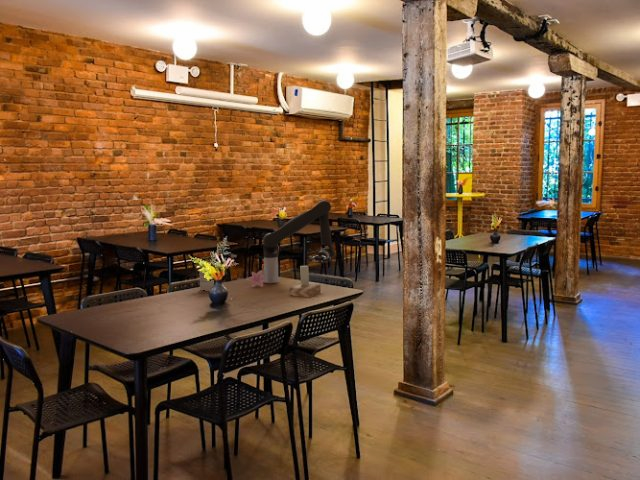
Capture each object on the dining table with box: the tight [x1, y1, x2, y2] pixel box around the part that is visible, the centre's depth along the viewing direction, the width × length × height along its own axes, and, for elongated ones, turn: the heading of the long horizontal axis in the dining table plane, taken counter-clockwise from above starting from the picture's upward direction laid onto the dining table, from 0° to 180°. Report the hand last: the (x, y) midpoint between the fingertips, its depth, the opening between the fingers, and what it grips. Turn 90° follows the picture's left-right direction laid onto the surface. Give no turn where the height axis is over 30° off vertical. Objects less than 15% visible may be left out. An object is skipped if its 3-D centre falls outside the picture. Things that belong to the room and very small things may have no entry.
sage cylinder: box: [299, 265, 310, 287], centre depth 358 cm, size 5×5×12 cm
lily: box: [246, 269, 267, 288], centre depth 387 cm, size 12×12×10 cm
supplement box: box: [199, 262, 214, 292], centre depth 376 cm, size 10×9×17 cm
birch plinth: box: [288, 282, 321, 298], centre depth 359 cm, size 14×14×5 cm
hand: (317, 260), depth 368 cm, fingers open, 8 cm apart
